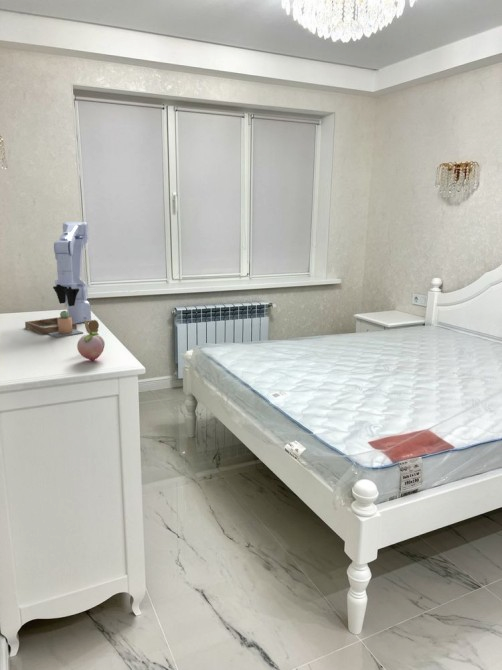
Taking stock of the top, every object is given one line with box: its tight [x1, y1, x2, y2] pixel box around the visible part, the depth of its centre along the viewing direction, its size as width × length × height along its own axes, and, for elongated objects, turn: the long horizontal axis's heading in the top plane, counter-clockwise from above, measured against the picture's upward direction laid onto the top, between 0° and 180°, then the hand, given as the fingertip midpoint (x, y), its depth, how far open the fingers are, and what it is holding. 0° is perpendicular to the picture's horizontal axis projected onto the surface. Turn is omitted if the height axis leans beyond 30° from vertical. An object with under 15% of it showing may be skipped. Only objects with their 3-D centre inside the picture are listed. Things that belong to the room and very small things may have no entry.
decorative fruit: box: [76, 331, 106, 362], centre depth 162 cm, size 9×8×10 cm
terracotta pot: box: [57, 310, 73, 334], centre depth 196 cm, size 5×5×9 cm
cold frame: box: [24, 317, 78, 335], centre depth 205 cm, size 14×16×2 cm
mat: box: [47, 329, 84, 339], centre depth 197 cm, size 11×7×1 cm, turn 137°
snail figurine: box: [83, 317, 100, 334], centre depth 176 cm, size 5×6×12 cm
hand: (66, 304), depth 202 cm, fingers open, 7 cm apart
